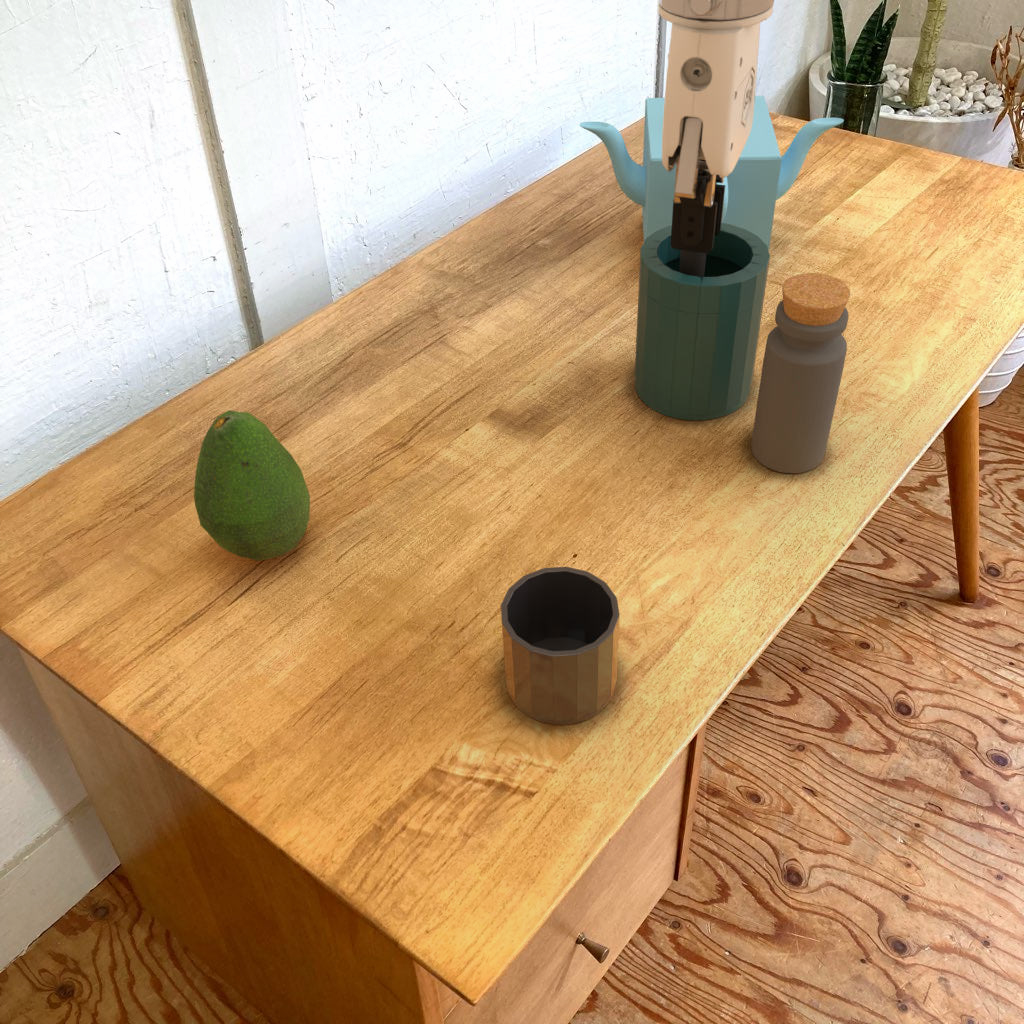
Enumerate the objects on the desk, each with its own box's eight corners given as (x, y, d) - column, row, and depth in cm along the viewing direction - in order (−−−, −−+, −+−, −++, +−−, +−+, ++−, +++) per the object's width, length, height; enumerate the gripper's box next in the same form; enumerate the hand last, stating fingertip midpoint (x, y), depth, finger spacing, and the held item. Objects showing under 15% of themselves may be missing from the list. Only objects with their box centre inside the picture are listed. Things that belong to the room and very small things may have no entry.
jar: (760, 362, 94) (779, 229, 85) (738, 430, 87) (756, 294, 78) (650, 344, 96) (658, 214, 88) (621, 408, 90) (626, 274, 81)
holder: (628, 652, 71) (632, 581, 66) (597, 737, 66) (599, 668, 61) (527, 626, 73) (524, 556, 68) (490, 708, 68) (483, 638, 63)
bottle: (801, 484, 82) (833, 321, 72) (736, 454, 85) (758, 293, 74) (838, 446, 85) (873, 284, 75) (774, 418, 88) (800, 259, 78)
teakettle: (709, 312, 100) (724, 165, 90) (571, 243, 110) (571, 104, 100) (829, 240, 109) (855, 99, 98) (691, 182, 119) (702, 49, 109)
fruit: (281, 496, 83) (248, 373, 75) (340, 545, 79) (312, 421, 71) (194, 546, 80) (150, 423, 72) (251, 601, 75) (211, 476, 67)
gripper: (751, 34, 62) (722, 301, 75) (794, -46, 73) (762, 199, 86) (629, 24, 64) (620, 286, 77) (688, -52, 75) (672, 188, 88)
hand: (695, 239), depth 81 cm, fingers closed
